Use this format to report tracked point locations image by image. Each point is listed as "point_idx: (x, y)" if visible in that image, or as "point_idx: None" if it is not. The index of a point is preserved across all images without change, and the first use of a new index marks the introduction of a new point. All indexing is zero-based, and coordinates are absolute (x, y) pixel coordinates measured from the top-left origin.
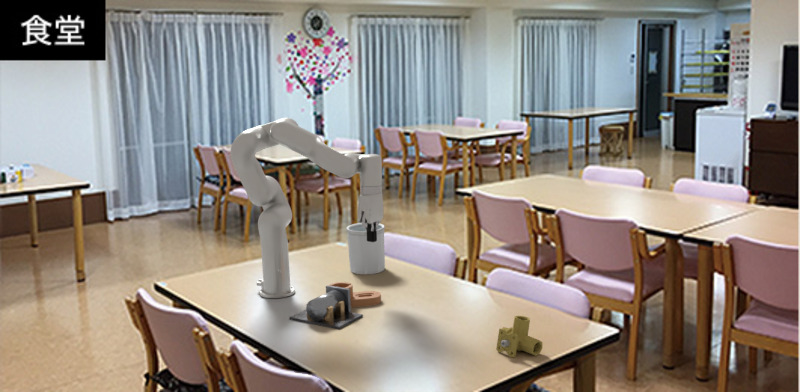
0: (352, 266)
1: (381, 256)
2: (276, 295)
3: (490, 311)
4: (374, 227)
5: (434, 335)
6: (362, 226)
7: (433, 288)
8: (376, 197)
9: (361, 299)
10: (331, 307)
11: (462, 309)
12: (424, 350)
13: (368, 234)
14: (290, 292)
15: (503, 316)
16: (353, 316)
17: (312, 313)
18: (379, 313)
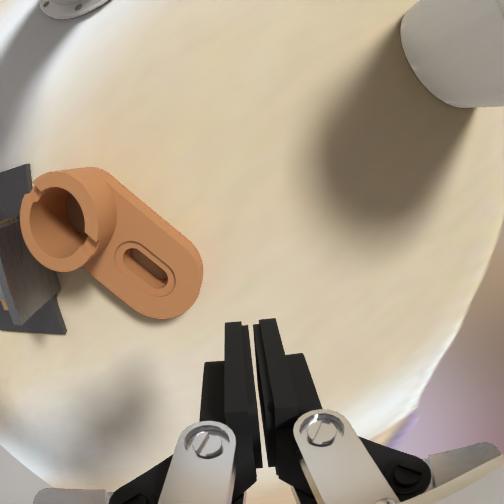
0: (411, 14)
1: (489, 104)
2: (43, 11)
3: (270, 480)
4: (297, 487)
5: (114, 462)
6: (44, 501)
7: (374, 347)
8: None
9: (107, 287)
10: None
11: None
12: (70, 461)
13: (204, 408)
14: (77, 11)
15: (258, 493)
16: (42, 322)
17: None
18: (110, 352)
